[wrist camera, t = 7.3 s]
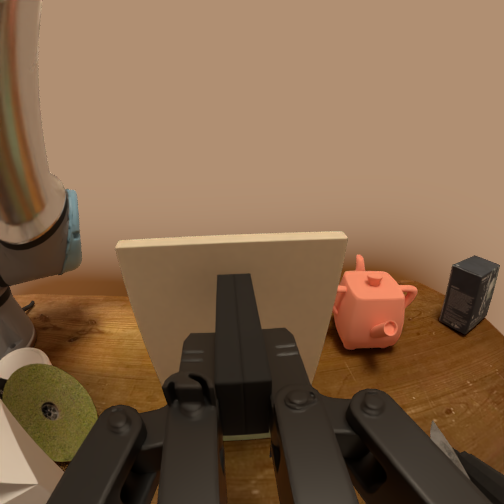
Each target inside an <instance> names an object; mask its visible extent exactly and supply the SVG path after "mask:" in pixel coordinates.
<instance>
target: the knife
mask: <svg viewBox="0 0 504 504" xmlns="http://www.w3.org/2000/svg"><path fill="white" fill-rule="evenodd" d="M430 437H431V440H432V441H433V442H434V443H435V444H436V445H437V446H438V447H439V448H440V449H441V450H442V451H443V452H444V453H445V454H446V455H447V456H448V457H449V458H450V459H451V461H452V462H453V463H454V464H455V465H456V466H457V467H458V468H459V469H460V470H461V471H462V472H463V473H464V474H465V475H466V476H467V477H468V475H467V473H466V471H465V469H464V468H463V466H462V464H461V462H460V460H459V459H458V457H457V455H456V454H455V452H454V450H453V449H452V447H451V446H450V444H449V443H448V441H447V440H446V438H445V437H444V435H443V434H442V433H441V431H440V430H439V428H438V427H437V426H436V424H435V423H434V422H433V421H432V424H431V436H430ZM468 478H469V477H468ZM469 479H470V478H469Z"/></svg>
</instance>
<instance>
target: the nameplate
mask: <svg viewBox="0 0 504 504" xmlns="http://www.w3.org/2000/svg"><path fill="white" fill-rule="evenodd" d="M6 382H7V379H3V378H0V399H1V400H2V399H3V397H2V396H3V391H4V387H5V384H6ZM2 402H3V401H2Z"/></svg>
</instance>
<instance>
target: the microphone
mask: <svg viewBox="0 0 504 504" xmlns="http://www.w3.org/2000/svg"><path fill="white" fill-rule="evenodd" d="M452 449H453V450H454V452H455V454H456V455H457V457H458V459H459V460H460V462H461V464H462V466H463V468H464V469H465V471H466V473H467V475H468V477H469V478H470V480H471V481H472V482H473V484H474V485H475V486H476V487H477V488H478V489H479V490H480V491H481V492H482V493H483V494H484V495H485V496H486V497H487V498H488V499H489V500H490V501H491V502H492V503H493V504H504V475H503V474H501V473H500V472H498V471H496V470H495V469H493V468H492V467H490V466H489V465H487V464H486V463H484V462H483V461H481V460H479V459H478V458H476V457H475V456H473V455H472V454H468V453H467V452H465V451H463V452H461V453H460V452H458V451H457V450H455V449H454V448H452Z"/></svg>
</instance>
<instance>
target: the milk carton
mask: <svg viewBox="0 0 504 504" xmlns="http://www.w3.org/2000/svg"><path fill="white" fill-rule="evenodd" d="M63 474H64V471H63V470H62V469H61V468H60V467H59V466H58V465H57V464H56V463H55V462H54V461H53V460H52V459H51V458H50V457H49V456H48V455H47V454H46V453H45V452H44V451H43V450H42V449H41V448H40V447H39V446H38V445H37V444H36V443H35V442H34V440H33V439H32V438H31V437H30V436H29V435H28V434H27V432H26V431H25V430H24V429H23V428H22V426H21V425H20V424H19V423H18V421H17V420H16V419H15V418H14V416H13V415H12V414H11V412H10V411H9V410H8V408H7V407H6V406H5V404H4V403H3V402H2V400H1V399H0V504H46V503H47V501H48V499H49V497H50V496H51V494H52V492H53V491H54V489H55V487H56V485H57V484H58V482H59V480H60V479H61V477H62V475H63Z"/></svg>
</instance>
